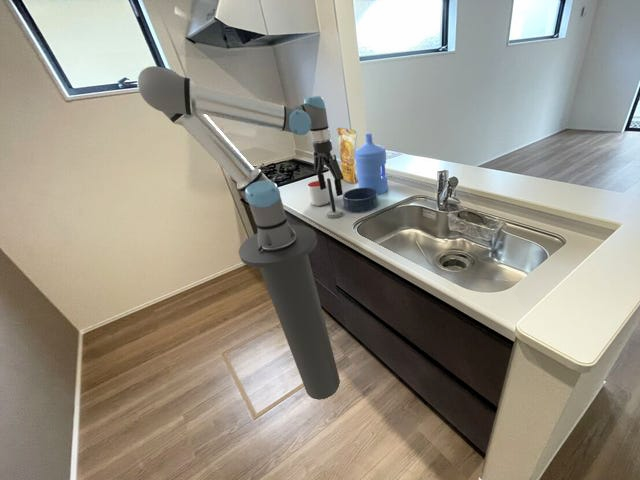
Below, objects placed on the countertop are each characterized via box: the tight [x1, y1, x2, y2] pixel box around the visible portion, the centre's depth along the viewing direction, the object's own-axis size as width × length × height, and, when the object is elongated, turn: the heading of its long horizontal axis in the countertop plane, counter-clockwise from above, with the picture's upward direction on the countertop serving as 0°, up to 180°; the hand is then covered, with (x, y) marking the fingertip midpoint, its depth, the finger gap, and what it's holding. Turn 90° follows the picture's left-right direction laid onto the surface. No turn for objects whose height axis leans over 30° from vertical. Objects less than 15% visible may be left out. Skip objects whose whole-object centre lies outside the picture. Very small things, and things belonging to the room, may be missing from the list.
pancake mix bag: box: [336, 127, 358, 184], centre depth 172 cm, size 7×19×28 cm, turn 30°
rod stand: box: [326, 177, 343, 219], centre depth 134 cm, size 6×6×17 cm
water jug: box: [355, 133, 389, 196], centre depth 152 cm, size 16×16×28 cm
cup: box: [306, 180, 331, 207], centre depth 150 cm, size 10×10×10 cm
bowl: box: [342, 187, 379, 213], centre depth 143 cm, size 17×17×6 cm
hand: (331, 192), depth 132 cm, fingers open, 13 cm apart
